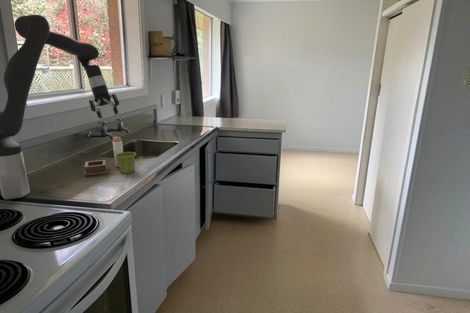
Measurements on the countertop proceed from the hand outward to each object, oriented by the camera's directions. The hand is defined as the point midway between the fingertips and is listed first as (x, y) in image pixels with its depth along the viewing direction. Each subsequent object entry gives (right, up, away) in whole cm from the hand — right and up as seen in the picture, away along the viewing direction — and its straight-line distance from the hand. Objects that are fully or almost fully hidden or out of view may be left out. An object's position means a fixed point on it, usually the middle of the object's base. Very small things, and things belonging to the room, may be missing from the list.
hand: (108, 116), depth 167 cm
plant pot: (+14, -29, -13) cm, 35 cm away
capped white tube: (+8, -26, -5) cm, 27 cm away
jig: (-1, -28, -13) cm, 31 cm away
